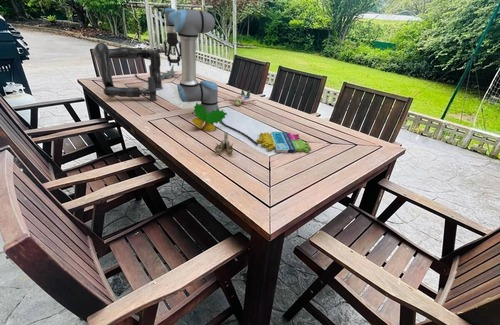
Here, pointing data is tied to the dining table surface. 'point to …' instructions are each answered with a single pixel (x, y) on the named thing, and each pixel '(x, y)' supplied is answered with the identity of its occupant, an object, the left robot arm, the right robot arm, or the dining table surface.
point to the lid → (174, 60)
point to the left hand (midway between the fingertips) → (155, 92)
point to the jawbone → (224, 145)
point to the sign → (283, 142)
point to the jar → (152, 88)
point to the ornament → (207, 117)
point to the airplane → (169, 74)
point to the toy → (241, 99)
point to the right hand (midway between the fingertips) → (174, 65)
